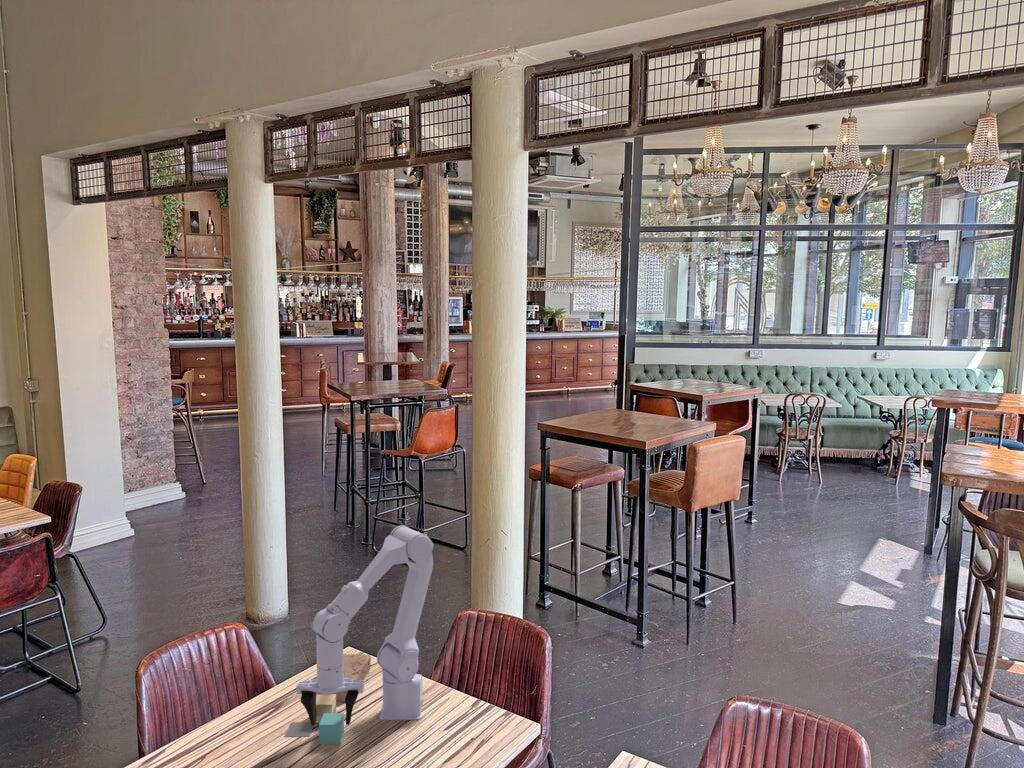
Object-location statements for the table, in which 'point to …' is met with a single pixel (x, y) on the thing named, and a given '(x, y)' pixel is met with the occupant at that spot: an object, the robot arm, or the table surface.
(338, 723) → the teal block
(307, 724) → the plate
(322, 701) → the beech block
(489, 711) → the table surface
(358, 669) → the brick
